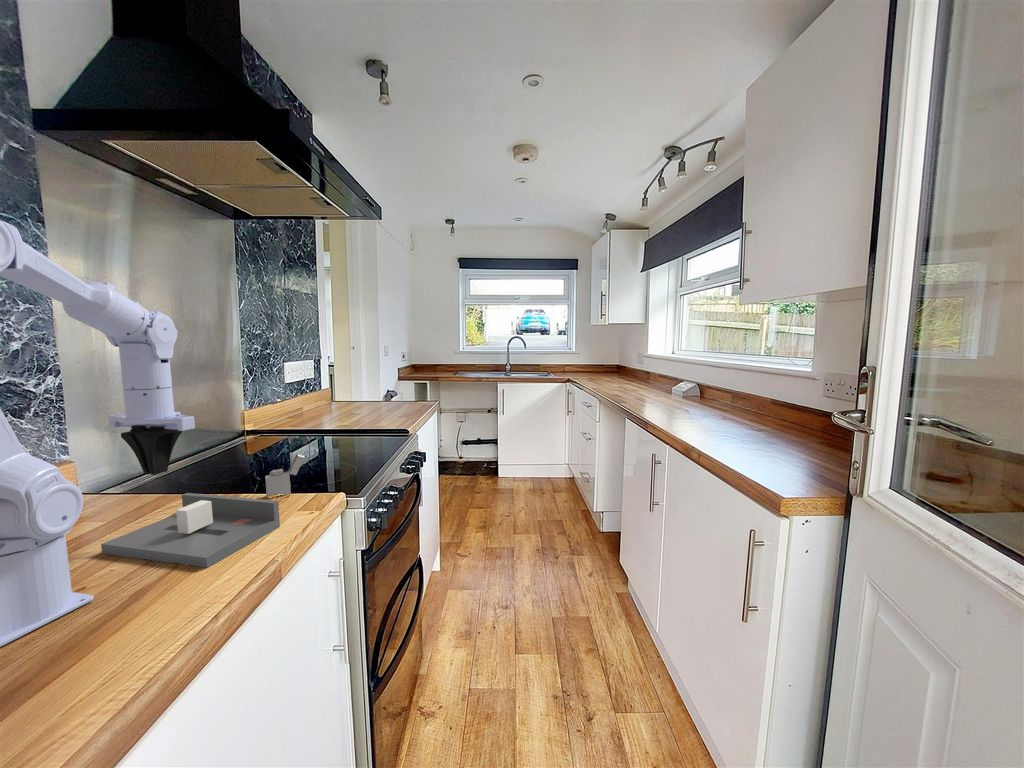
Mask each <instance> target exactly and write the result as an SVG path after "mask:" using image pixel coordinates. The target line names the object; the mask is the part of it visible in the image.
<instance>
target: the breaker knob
mask: <svg viewBox="0 0 1024 768" xmlns="http://www.w3.org/2000/svg"><path fill="white" fill-rule="evenodd" d="M175 514H176V515H177V526H178V533H186V534H189V533H192V532H194V531H196V530H198V529H200V528H202V527H205V526H207V525H209V524H211V523H213V516H212V503H211V501H204V500H201V501H198V502H195V503H193V504H190V505H188V506H185V507H183V506H182V507H180V508H179V509H176V510H175Z"/></svg>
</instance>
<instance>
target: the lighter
mask: <svg viewBox="0 0 1024 768" xmlns="http://www.w3.org/2000/svg"><path fill="white" fill-rule="evenodd" d="M304 460H305V455H304V454H301V453H297V452H296V453H295V456H294V459H293V460H292V463H291V465H290V467H289V469H288V471H287V472H284V469H283V468H280V469H273V470H271V471H270V472H269V475H265V477H264V478H265V488H266V492H265V493H266V498H267V497H269V496H272V495H278V494H289V493H292V492H291V491H292V490H291V480H290V479H291V477H290V475H293V476H297V474H298V472H299V470H300V468H301V467H302V466H301V465H302V463H303V461H304ZM289 495H290V494H289Z"/></svg>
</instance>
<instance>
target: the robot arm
mask: <svg viewBox="0 0 1024 768" xmlns="http://www.w3.org/2000/svg"><path fill="white" fill-rule="evenodd" d="M0 277H2V278H4V279H6V280H9V281H11V282H13V283H15V284H18V285H20V286H23V287H24V288H27V289H30V290H32V291H33V292H36V293H38V294H41V295H43V296H45V297H48V298H51V299H53V300H54V301H57V302H59V303H62V307H63V310H64V312H65V314H66V315H67V316H68V317H70V318H72V319H74V320H76V321H78V322H80V323H82V324H84V325H86V326H89V327H91V328H93V329H95V330H97V331H99V332H100V333H102V334H104V336H105V337H106V339H107V341H108V342H109V343H110V344H111V346H113V347H116V348H118V351H119V360H120V370H121V380H122V392H123V402H124V411H125V413H119V414H118V413H117V414H112V415H108V423H109V428H112V429H113V428H121V427H122V428H131V429H130V430H129V431H125V432H121V433H120V437H121V439H122V440H123V441H124V442H126V444H127V445H128V446H129V447H130V449H131V450H132V452H133V454H134V455H135V457H136V458H137V460H138V463H139V465H140V467H141V470H142V472H143V473H144V475H151V476H156V475H159V474H162V473H166V472H168V470H169V467H170V466H169V465H170V461H171V457H172V453H173V450H174V448H175V445H176V443H177V440H178V439H179V437H180V436H181V434H182V433H183V432H185V431H189V430H192V429H193V430H194V429H195V428H196V426H195V425H196V424H195V422H196V421H195V416H193V415H191V416H190V415H184V414H181V411H175V404H174V394H173V381H172V373H171V372H172V371H171V359H172V358H173V355H174V346H175V344H176V342H177V338H178V329H176V325H175V323H174V321H173V320H172V318H171V317H170V316H169V315H166V314H164V312H161V311H159V310H148V309H146V307H144V306H142V305H141V304H140V303H139V302H138V301H135V300H132V299H130V298H128V297H126V296H125V295H124V294H121V293H120V292H118V291H116V289H115V286H114V285H113V284H111V283H110V282H105V281H104V282H102V281H101V282H100V281H93V280H91V281H83V280H81V279H80V278H78V277H77V276H75V275H74V274H72V273H71V272H70V271H68V270H67V269H65V268H63V267H62V266H60V265H59V264H58V263H56V262H54V261H53V260H52V259H50V258H48V257H47V256H45V255H44V254H43V253H42V252H40V251H38V250H36V249H35V248H33V247H32V246H30V245H29V244H27V242H24V241H23V239H22V236H21V234H20V232H19V230H18V228H17V227H16V226H14V225H12V224H10V223H8V222H6V221H4V220H2V219H0ZM83 507H84V496H83V492H82V491H81V489H80V488H79V486H78V485H77V484H75V483H74V482H72V481H71V480H68V479H66V478H65V476H64V475H63V474H62V473H61V470H60V469H59V468H58V467H57V466H56V465H54V464H52V463H50V462H47V461H45V460H43V459H40V458H37V457H36V456H33V455H30V454H29V453H28V452H26V451H25V449H24V448H23V446H22V444H21V442H20V440H19V439H18V437H17V435H16V433H15V432H14V430H13V428H12V427H11V425H10V423H9V421H8V420H7V418H6V415H5V414H4V413H3V411H2V408H0V648H1V647H2V646H5V645H7V644H9V643H11V642H12V641H15V640H16V639H19V638H21V637H22V636H24V635H27V634H28V633H30V632H32V631H34V630H37V629H38V628H40V627H43V626H45V625H46V624H48V623H50V622H53V621H54V620H56V619H59V618H60V617H62V616H65V615H66V614H68V613H71V612H72V611H74V610H76V609H78V608H80V607H82V606H84V605H86V604H88V603H91V602H92V601H93V600H94V599H95V596H94V595H92V594H86V593H80V592H74V591H73V589H72V581H71V571H70V563H69V557H68V556H69V555H68V546H67V539H66V538H67V537H66V535H67V534H68V533H70V532H72V530H73V529H72V528H73V527H74V525H75V524H76V523H77V522H78V520H79V518H80V517H81V514H82V512H83Z"/></svg>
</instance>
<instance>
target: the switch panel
mask: <svg viewBox="0 0 1024 768" xmlns="http://www.w3.org/2000/svg"><path fill="white" fill-rule="evenodd" d="M201 500H204V501H211V503H212V516H213V523H211V524H209V525H207V526H205V527H202V528H200V529H198V530H196V531H194V532H192V533H189V534H186V533H178V526H177V515H176V513H175V514H173V515H171V516H168V517H166V518H165V517H164V518H163V519H160V520H158V521H156V522H153V523H151V524H148V525H146V526H143V527H140V528H139V529H136V530H133V531H131V532H128V533H125V534H123V535H120V536H118V537H115V538H113V539H111V540H108V541H106V542H103V543H101V544H100V546H101V554H102V555H108V556H109V555H110V556H115V557H124V558H129V559H130V558H131V559H137V558H140V559H139V560H144V559H147V560H146V561H151V560H152V561H153V562H159V561H161V562H160V563H166V562H170V563H169V564H173V563H178V564H177V565H181V564H187V565H186V566H188V565H194V566H193V567H196V566H198V567H197V568H204V569H208V568H209V567H211V566H213V565H215V564H216V563H219V562H220V561H222V560H224V559H225V558H227V557H229V556H231V555H232V554H234V553H236V552H238V551H239V550H241V549H243V548H245V547H247V546H249V545H250V544H252V543H253V542H255V541H257V540H259V539H260V538H262V537H264V536H266V535H268V534H270V533H271V532H273V531H274V530H276V529H278V528H280V527H281V525H280V523H281V521H280V507H279V500H270V499H262V498H252V497H251V498H249V497H237V496H228V495H219V494H218V495H216V494H215V495H214V494H204V493H194V492H193V493H192V492H186V493H183V494H181V502H182V504H181V505H182V508H183V507H185V506H188V505H190V504H193V503H195V502H198V501H201ZM152 561H151V562H152Z"/></svg>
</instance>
